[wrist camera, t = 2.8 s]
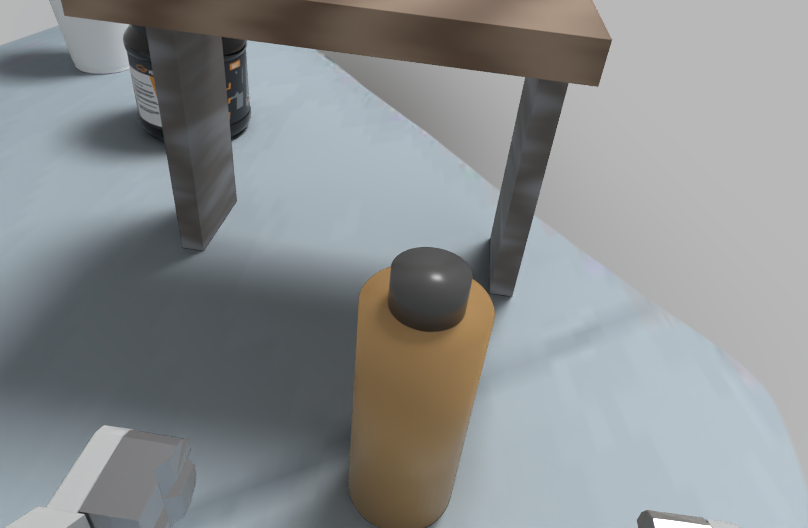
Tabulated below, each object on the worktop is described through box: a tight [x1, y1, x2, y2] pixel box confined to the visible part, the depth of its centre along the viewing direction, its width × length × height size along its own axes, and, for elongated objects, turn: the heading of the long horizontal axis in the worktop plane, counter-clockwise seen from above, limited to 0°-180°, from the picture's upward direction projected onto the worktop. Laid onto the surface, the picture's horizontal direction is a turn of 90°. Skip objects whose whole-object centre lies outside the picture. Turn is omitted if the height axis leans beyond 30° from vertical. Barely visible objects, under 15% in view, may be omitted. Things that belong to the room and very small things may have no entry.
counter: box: [61, 0, 612, 296], centre depth 37 cm, size 24×14×20 cm, turn 83°
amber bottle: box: [348, 247, 495, 528], centre depth 26 cm, size 5×5×14 cm
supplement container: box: [123, 24, 251, 140], centre depth 56 cm, size 10×10×12 cm
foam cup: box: [49, 0, 130, 74], centre depth 65 cm, size 10×9×13 cm
